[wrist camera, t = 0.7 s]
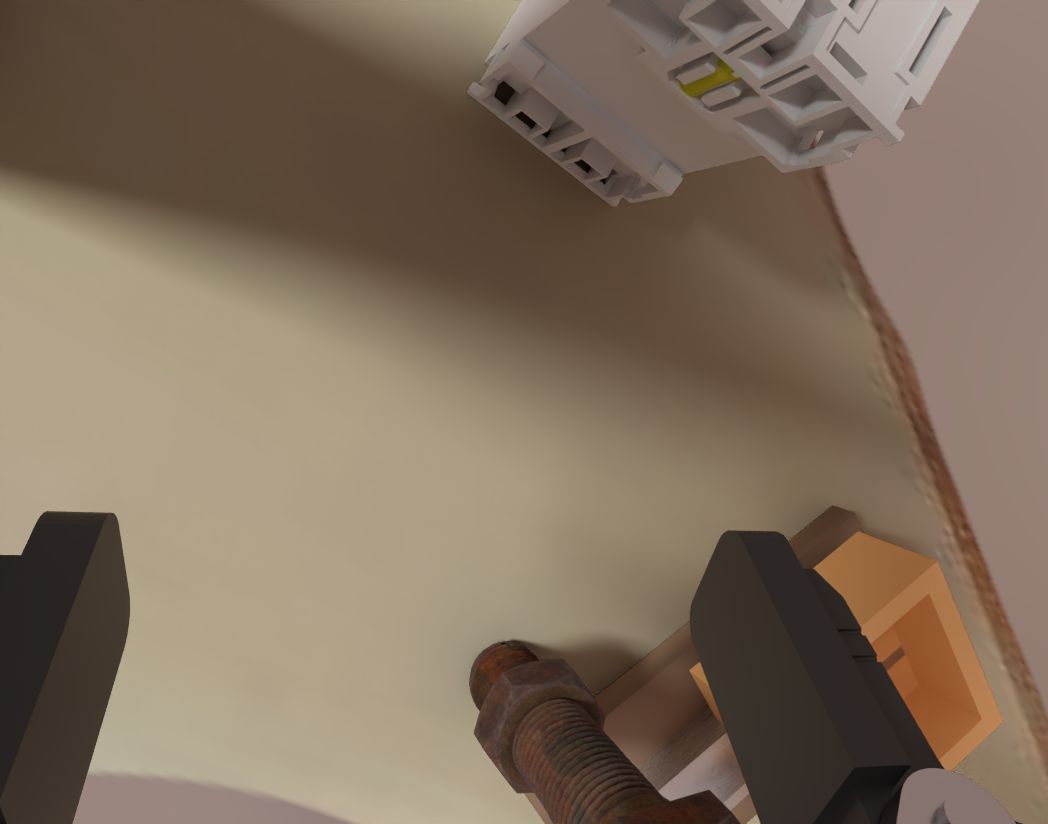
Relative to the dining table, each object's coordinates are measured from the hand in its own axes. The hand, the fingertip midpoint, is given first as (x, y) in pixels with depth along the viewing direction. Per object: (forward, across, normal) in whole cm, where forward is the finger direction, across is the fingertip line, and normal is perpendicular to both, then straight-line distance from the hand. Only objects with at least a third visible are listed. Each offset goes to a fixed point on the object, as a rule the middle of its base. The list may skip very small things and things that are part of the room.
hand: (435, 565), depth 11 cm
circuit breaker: (+28, -9, -3) cm, 29 cm away
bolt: (+14, -6, +21) cm, 26 cm away
